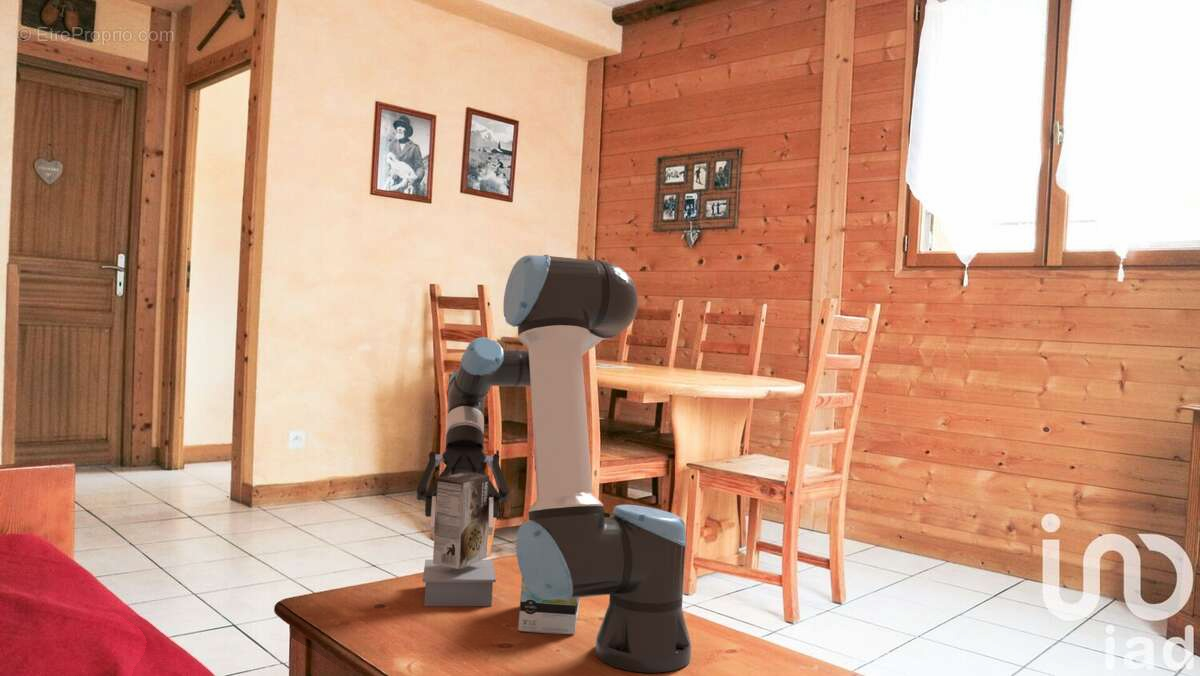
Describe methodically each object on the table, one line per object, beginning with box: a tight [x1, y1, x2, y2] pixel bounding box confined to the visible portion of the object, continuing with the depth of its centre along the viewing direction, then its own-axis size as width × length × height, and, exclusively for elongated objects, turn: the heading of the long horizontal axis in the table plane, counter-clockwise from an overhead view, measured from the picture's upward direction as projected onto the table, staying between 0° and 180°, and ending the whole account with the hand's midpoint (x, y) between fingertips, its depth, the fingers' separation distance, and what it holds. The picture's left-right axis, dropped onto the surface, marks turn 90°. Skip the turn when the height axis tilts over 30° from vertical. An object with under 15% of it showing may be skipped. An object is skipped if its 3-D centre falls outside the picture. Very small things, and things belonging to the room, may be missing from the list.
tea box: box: [517, 576, 580, 635], centre depth 152 cm, size 15×10×15 cm, turn 179°
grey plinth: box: [422, 559, 497, 607], centre depth 162 cm, size 13×13×5 cm
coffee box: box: [432, 471, 491, 569], centre depth 162 cm, size 9×6×16 cm
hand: (461, 530), depth 159 cm, fingers closed on coffee box, 10 cm apart
